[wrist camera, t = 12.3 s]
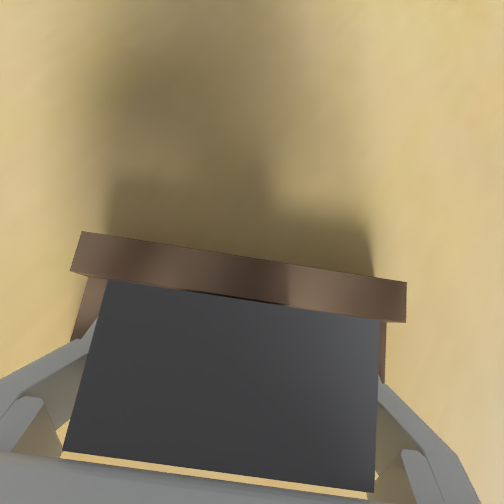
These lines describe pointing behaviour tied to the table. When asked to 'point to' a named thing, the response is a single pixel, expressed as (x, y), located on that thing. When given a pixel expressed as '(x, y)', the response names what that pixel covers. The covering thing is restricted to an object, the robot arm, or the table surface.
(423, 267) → the table surface
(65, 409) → the robot arm
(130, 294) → the dark grey rectangular block
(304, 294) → the display ledge
